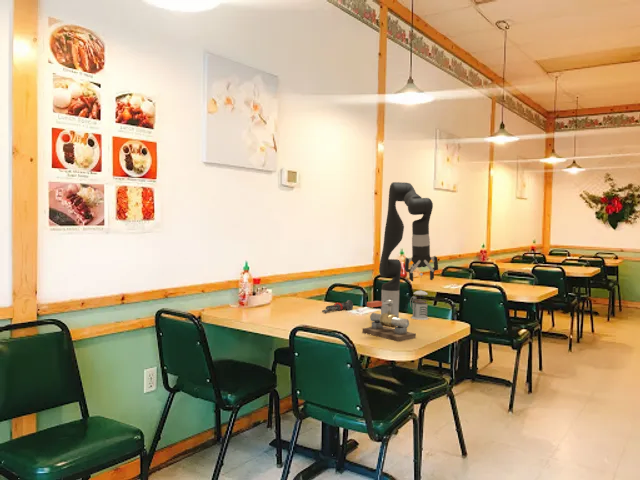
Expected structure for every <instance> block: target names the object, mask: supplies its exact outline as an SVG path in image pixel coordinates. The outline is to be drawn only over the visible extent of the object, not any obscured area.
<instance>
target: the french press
mask: <svg viewBox="0 0 640 480" xmlns="http://www.w3.org/2000/svg"><path fill="white" fill-rule="evenodd" d="M423 275H424V273H421V272H420V273H419V276H420V277H422V276H423ZM414 295H415V296H414ZM416 295H417V296H420V297H419V298H420V299H416ZM427 295H429V294H428V292H426V291H424V290H422V289H420V290H416V291H414V292H413V296H412V297H411V298H410V301H409V305H410V307H411V309H412V316H410V318H411V319H413V320H419V321H426V320H429V317H428V303H427V302H428V301H427V300H426V299H421V296H427ZM412 298H413V299H412ZM411 301H412V302H411Z"/></svg>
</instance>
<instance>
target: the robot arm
mask: <svg viewBox="0 0 640 480" xmlns="http://www.w3.org/2000/svg"><path fill="white" fill-rule="evenodd" d="M388 189H389V191H388V206H387V215H386V221H385V228H384V237H383V247H382V251H381V255H380V261H379V266H378V267H379V268H378V269H379V276H380V277H384V278H392V279H390V280H389V281H387V282H385V283H384V282H383V284H382V285H381V297H380V298H381V300H380V301H386V300H387V299H391V300H393V305H391V314H393V315H397V317H398V318H400V317H399V316H400V315H399V314H400V312H399V311H400V288H401V287H400V286H401V274H402V272H401V271H402V264H401V261H400V259H398V258H397V259H394V258H393V259H392V258H391V259H390V256H391V254H392V252H393V251H394V250H395V249H396V247H398V245H399V244H400V243H401V241H402V240H403V236H404V230H405V225H404V221H403V220H402V218H401V217H400V214H399V212H398V209H397V207H396V204H397V202H403V203H404V205H405V206H407V211H408V213H409V214H410V215H412V216H417V215H421V217H420V218H419V219H415V220H414V221H412V225H411V227H412V229H411V230H412V232H411V233H412V237H411V250H412V251H411V254H412V255H411V257H405V258H404V271H405V272H406V273H408V275H409V277H408V278H409V281H410V282H414V272H415V270H416V269H417V268H418V269H419V268H427V269H429V280H430V281H433V280H434V278H435V272H436V271H438V270H439V261H438V256H436V255H434V256H431V247H430V246H431V241H430V240H431V239H430V219H431V215H432V213H433V212H432V211H433V207H434V206H433V205H434V203H433V201H432V200H431V199H430V198H429V197H422V196H421V195H419V194H418V193H417V192H416V190H415V188H414V187H413V185H412V184H411V183H410V182H403V181H402V182H400V181H398V182H397V181H395V182H391V184H390V186H389V188H388ZM431 261H432V262H433V266H432V265H431V263H430V262H431ZM411 262H412V265H411V266H410V263H411ZM409 266H410V267H409ZM383 313H388V305H387V304H383V305H382V306H380V314H383Z"/></svg>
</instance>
